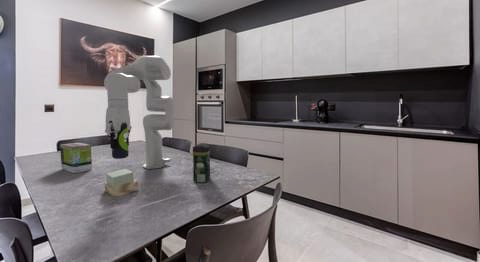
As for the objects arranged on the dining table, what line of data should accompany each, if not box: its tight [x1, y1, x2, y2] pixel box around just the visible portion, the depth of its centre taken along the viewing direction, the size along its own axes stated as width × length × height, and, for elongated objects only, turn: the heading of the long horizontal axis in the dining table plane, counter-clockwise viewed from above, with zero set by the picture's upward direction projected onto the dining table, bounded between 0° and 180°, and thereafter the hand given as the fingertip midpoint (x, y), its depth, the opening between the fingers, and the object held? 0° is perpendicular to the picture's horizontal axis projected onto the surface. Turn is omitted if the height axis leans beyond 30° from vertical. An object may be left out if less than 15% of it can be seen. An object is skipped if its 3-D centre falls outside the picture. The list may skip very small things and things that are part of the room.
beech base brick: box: [103, 178, 139, 198], centre depth 101 cm, size 10×10×5 cm
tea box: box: [59, 142, 93, 174], centre depth 133 cm, size 15×10×15 cm, turn 58°
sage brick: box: [105, 168, 135, 187], centre depth 100 cm, size 8×8×4 cm
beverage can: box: [111, 122, 130, 160], centre depth 98 cm, size 6×6×15 cm
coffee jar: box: [192, 142, 211, 184], centre depth 116 cm, size 10×8×19 cm
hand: (120, 146), depth 99 cm, fingers closed on beverage can, 6 cm apart
